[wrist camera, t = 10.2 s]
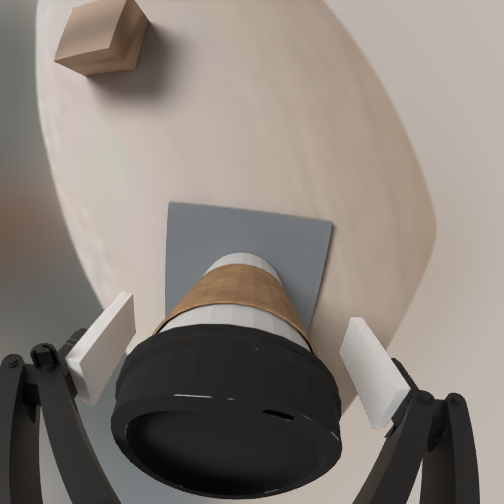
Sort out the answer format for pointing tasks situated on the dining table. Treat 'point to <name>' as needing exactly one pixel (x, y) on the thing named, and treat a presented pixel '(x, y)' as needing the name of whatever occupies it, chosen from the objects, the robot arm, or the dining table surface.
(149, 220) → the dining table surface
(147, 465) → the coffee cup
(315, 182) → the dining table surface
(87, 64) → the walnut block
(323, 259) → the slate coaster
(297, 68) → the dining table surface
